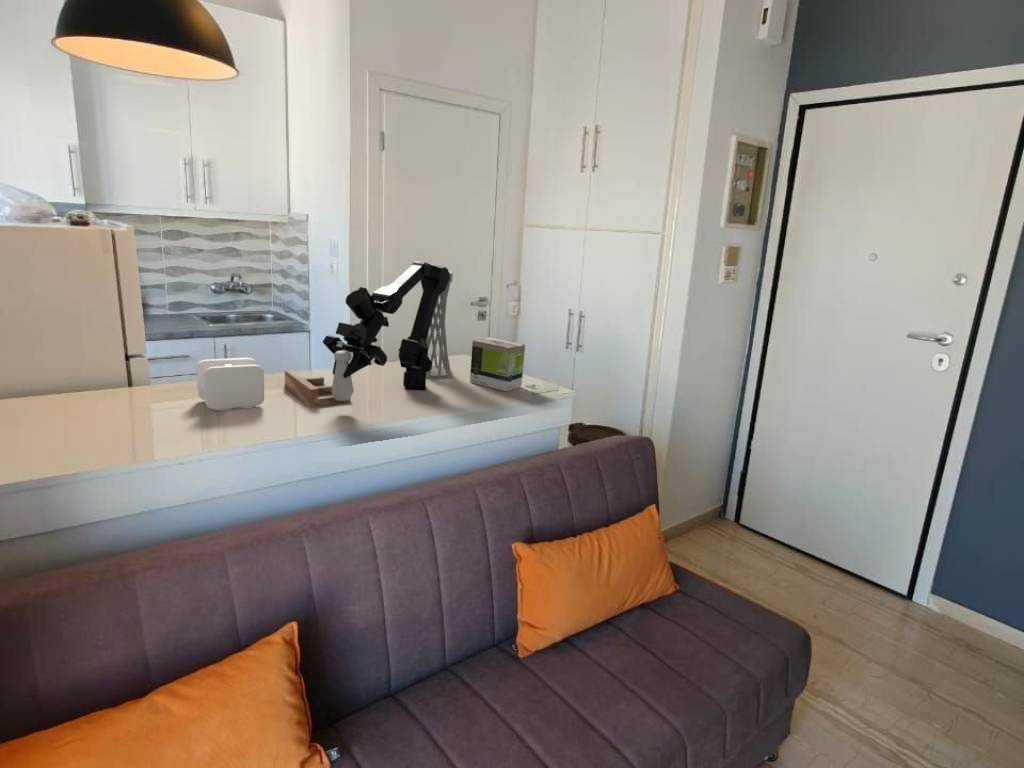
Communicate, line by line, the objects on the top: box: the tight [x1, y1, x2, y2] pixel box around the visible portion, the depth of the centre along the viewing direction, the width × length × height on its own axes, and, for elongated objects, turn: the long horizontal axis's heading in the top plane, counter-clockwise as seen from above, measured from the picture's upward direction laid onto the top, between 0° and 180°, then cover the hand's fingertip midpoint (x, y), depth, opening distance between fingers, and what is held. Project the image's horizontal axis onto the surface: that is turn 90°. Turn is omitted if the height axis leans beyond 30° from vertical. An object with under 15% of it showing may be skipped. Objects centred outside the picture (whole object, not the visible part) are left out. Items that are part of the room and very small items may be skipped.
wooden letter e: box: [284, 369, 352, 408], centre depth 179 cm, size 12×20×5 cm, turn 39°
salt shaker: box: [331, 351, 355, 401], centre depth 164 cm, size 6×6×13 cm
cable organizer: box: [196, 357, 265, 411], centre depth 164 cm, size 15×11×12 cm
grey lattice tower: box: [426, 270, 454, 380], centre depth 208 cm, size 14×13×35 cm
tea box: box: [469, 336, 526, 392], centre depth 204 cm, size 15×10×15 cm, turn 58°
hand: (338, 375), depth 163 cm, fingers closed on salt shaker, 3 cm apart
